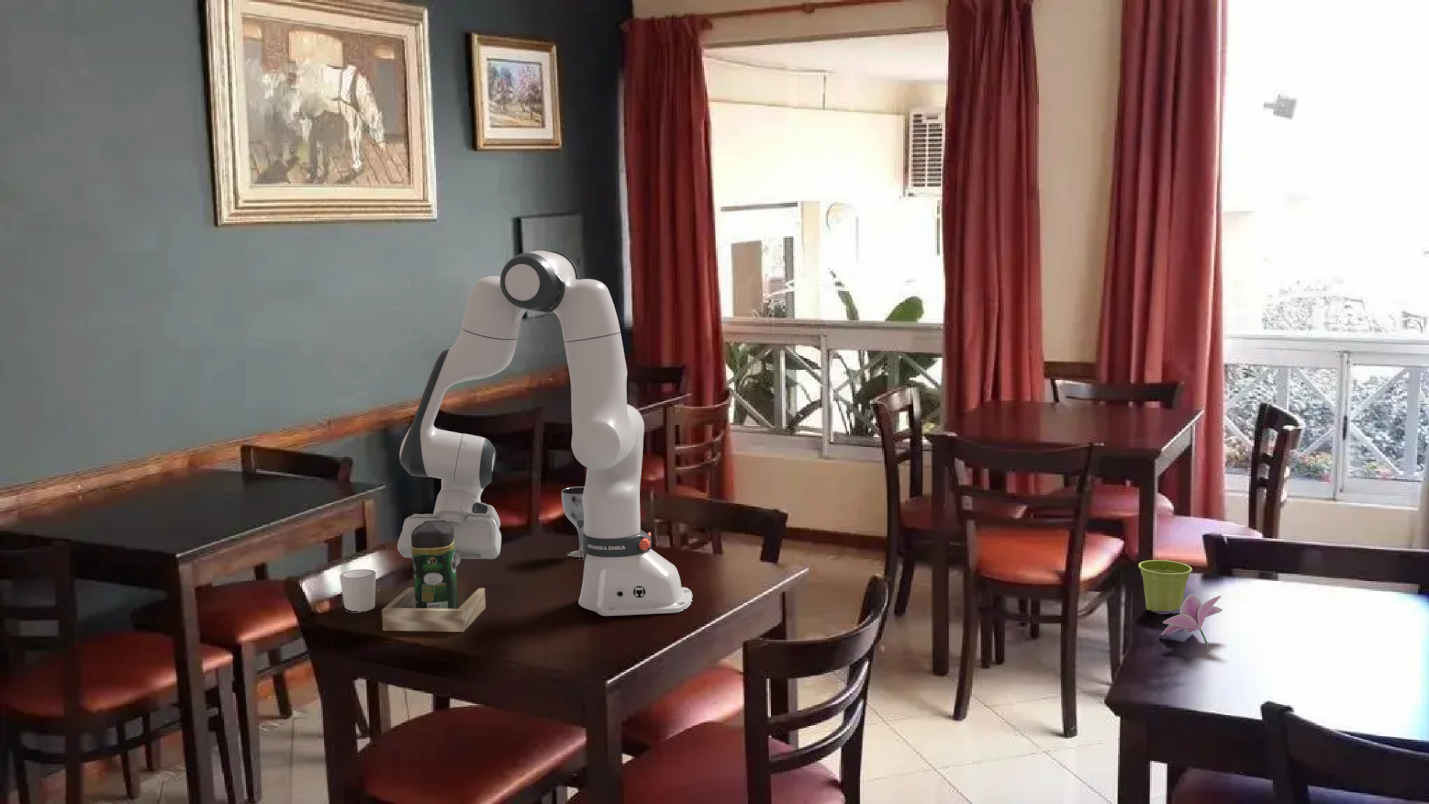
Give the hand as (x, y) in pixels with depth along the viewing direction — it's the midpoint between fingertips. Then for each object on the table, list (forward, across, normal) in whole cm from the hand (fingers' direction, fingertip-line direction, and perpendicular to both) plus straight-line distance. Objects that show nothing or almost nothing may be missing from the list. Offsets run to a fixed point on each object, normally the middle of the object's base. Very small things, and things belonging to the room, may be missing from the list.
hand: (442, 575), depth 238 cm
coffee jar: (+8, 0, +2) cm, 8 cm away
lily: (+13, +138, -4) cm, 139 cm away
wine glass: (-24, +18, +34) cm, 45 cm away
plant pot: (0, +138, +9) cm, 138 cm away
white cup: (+5, -17, +5) cm, 19 cm away
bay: (+8, 0, +1) cm, 9 cm away
